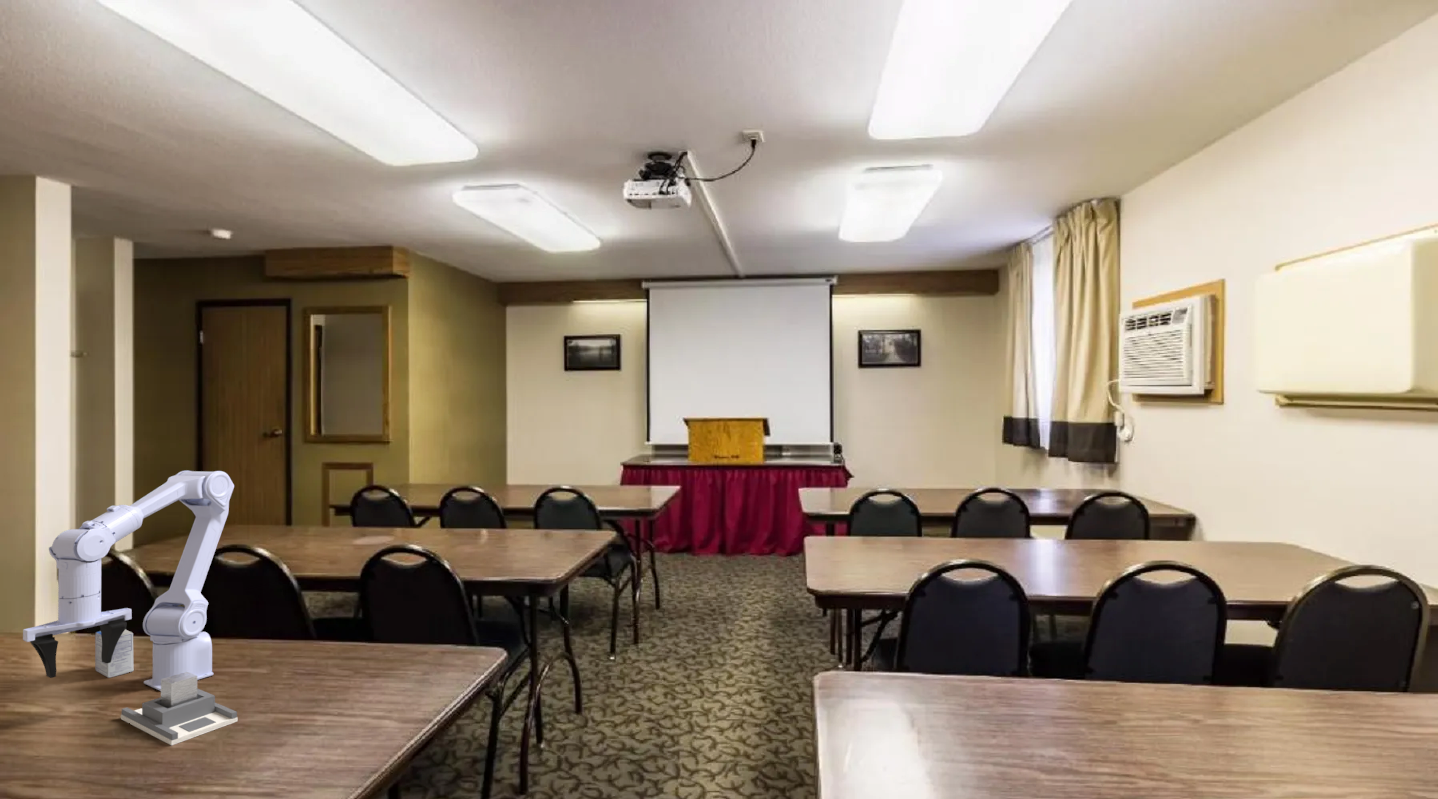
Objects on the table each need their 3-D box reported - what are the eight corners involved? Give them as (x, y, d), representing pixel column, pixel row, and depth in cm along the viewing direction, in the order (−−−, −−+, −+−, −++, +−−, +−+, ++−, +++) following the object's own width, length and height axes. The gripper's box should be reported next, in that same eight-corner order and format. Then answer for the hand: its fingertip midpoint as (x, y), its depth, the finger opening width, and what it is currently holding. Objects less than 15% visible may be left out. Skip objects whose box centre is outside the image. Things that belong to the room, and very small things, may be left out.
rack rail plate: (185, 698, 132) (185, 679, 132) (237, 721, 122) (237, 700, 122) (120, 719, 123) (120, 698, 123) (171, 745, 114) (171, 722, 114)
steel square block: (186, 709, 126) (186, 671, 126) (197, 713, 124) (197, 675, 124) (160, 717, 122) (160, 679, 122) (171, 722, 120) (171, 683, 120)
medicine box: (134, 672, 146) (134, 632, 146) (107, 679, 142) (107, 638, 142) (120, 664, 150) (121, 626, 150) (94, 671, 146) (94, 631, 146)
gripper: (33, 608, 115) (32, 687, 115) (138, 588, 128) (138, 659, 127) (18, 602, 118) (18, 679, 118) (122, 583, 131) (122, 653, 131)
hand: (79, 669), depth 123 cm, fingers open, 7 cm apart
